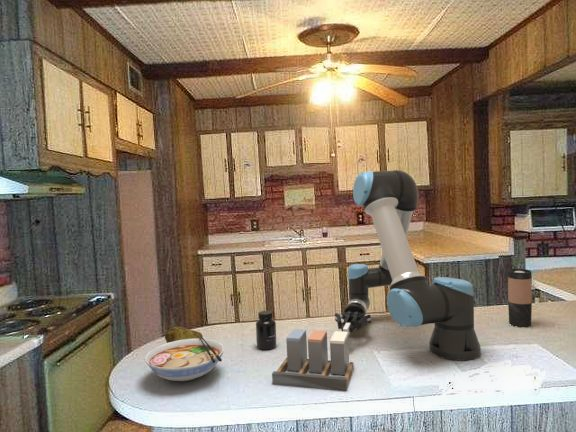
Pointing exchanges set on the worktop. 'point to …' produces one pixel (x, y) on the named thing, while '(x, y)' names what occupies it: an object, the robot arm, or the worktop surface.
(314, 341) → the terracotta key
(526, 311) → the travel mug
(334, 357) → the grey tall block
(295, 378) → the key bed
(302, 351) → the slate key
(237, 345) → the worktop surface
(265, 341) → the supplement bottle
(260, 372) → the worktop surface
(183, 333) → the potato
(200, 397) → the worktop surface
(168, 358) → the ramen bowl
